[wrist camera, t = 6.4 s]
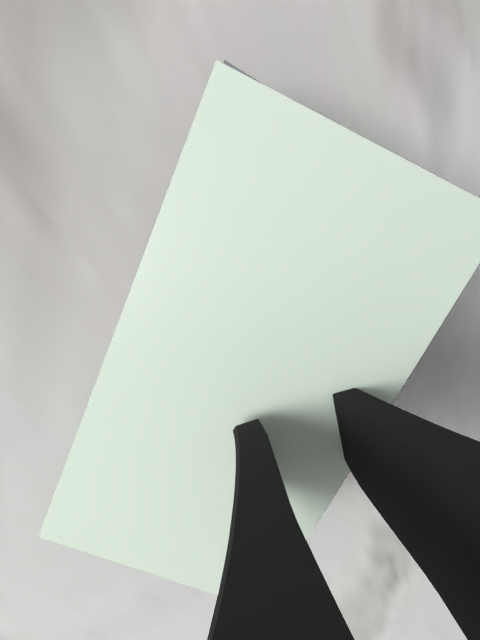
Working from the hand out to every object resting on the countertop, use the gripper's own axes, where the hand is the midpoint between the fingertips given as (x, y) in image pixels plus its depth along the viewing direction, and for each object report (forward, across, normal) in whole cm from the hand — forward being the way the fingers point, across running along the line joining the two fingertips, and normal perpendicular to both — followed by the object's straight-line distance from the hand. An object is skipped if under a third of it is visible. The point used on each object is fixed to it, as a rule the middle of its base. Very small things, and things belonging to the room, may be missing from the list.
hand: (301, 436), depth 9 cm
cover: (+1, +1, -1) cm, 2 cm away
